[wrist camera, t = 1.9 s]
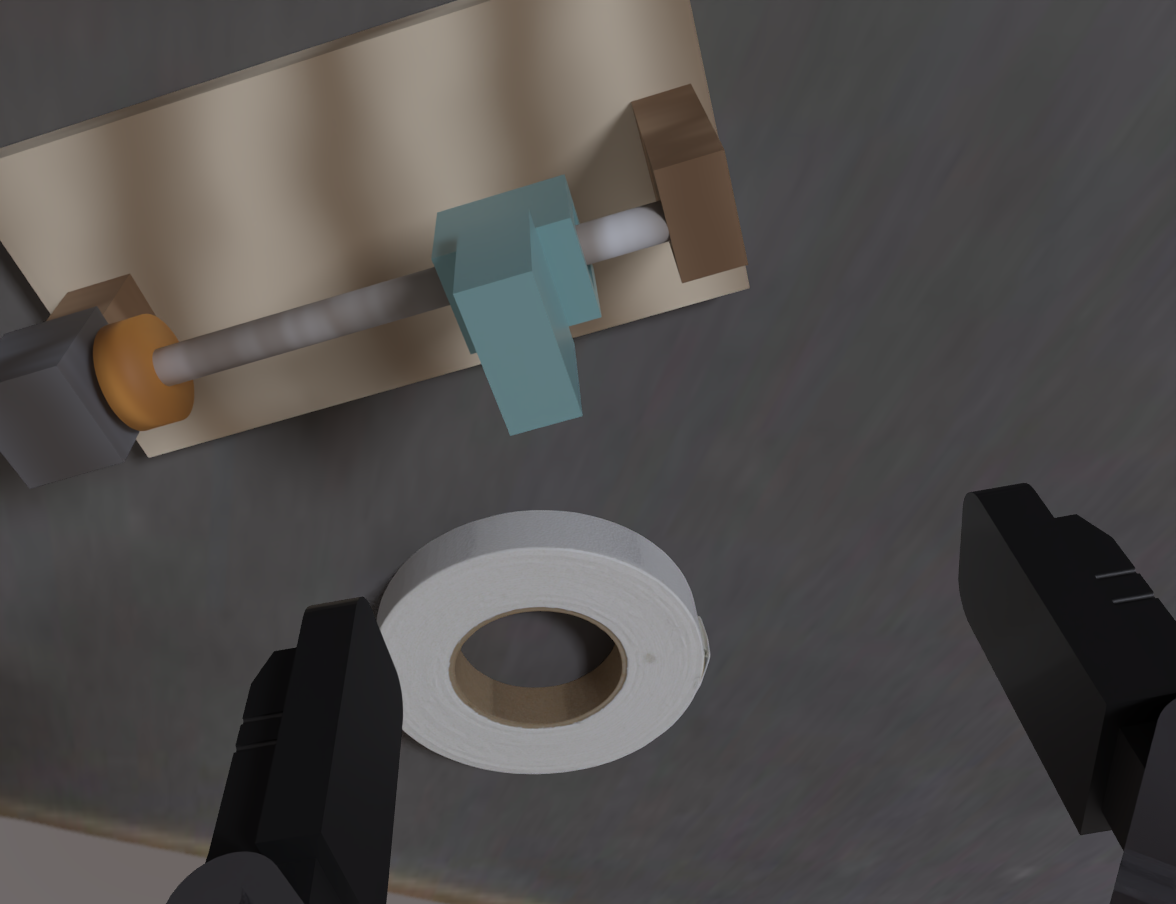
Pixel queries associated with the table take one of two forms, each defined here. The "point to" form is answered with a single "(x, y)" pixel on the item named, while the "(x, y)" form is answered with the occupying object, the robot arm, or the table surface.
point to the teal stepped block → (520, 296)
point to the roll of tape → (542, 583)
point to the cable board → (343, 219)
